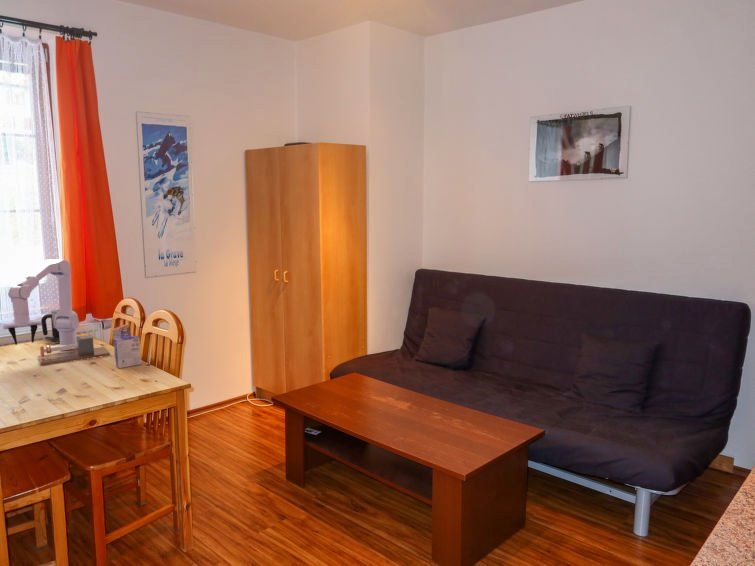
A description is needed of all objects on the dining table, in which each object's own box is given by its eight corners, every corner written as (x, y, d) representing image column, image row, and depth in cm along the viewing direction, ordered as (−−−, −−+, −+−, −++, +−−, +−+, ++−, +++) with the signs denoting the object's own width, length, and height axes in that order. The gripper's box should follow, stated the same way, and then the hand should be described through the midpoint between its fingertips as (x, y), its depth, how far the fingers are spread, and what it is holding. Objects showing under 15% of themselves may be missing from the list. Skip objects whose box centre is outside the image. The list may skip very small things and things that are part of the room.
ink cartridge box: (138, 361, 266) (135, 330, 264) (142, 364, 262) (139, 332, 260) (114, 366, 260) (112, 333, 258) (118, 368, 256) (116, 335, 254)
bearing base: (40, 365, 262) (38, 346, 260) (38, 358, 273) (36, 340, 272) (109, 355, 277) (108, 337, 276) (104, 349, 289) (102, 331, 287)
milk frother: (70, 335, 318) (68, 308, 315) (78, 340, 306) (76, 312, 303) (40, 339, 308) (37, 311, 306) (47, 345, 297) (44, 316, 294)
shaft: (41, 357, 266) (40, 346, 265) (40, 354, 270) (39, 344, 269) (88, 350, 276) (87, 340, 275) (87, 348, 280) (86, 338, 279)
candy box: (124, 357, 274) (121, 324, 272) (133, 357, 274) (130, 324, 271) (114, 362, 265) (111, 329, 263) (123, 362, 265) (121, 329, 262)
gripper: (2, 316, 254) (5, 347, 256) (41, 312, 262) (44, 342, 264) (1, 313, 260) (4, 344, 262) (39, 309, 268) (42, 339, 270)
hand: (24, 343), depth 263 cm, fingers open, 6 cm apart
